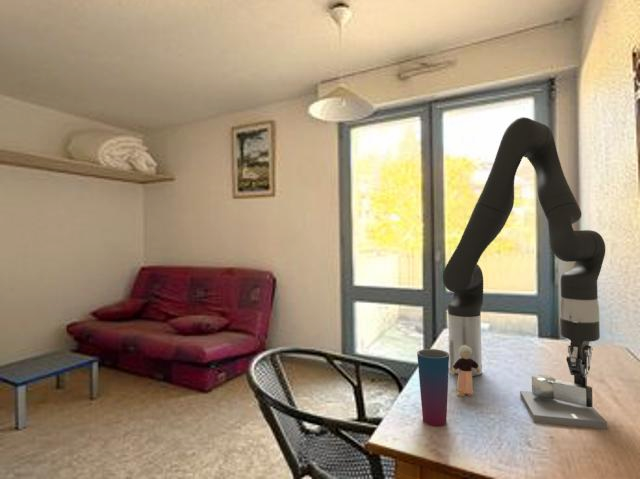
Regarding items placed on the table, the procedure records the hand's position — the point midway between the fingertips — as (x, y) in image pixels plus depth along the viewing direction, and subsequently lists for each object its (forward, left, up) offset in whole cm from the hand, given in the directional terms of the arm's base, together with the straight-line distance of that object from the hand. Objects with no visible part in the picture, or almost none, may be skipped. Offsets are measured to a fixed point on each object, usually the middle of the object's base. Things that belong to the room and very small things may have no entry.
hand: (580, 391), depth 88 cm
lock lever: (-4, -1, -2) cm, 5 cm away
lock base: (-5, -2, -4) cm, 7 cm away
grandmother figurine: (-25, +3, -4) cm, 25 cm away
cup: (-33, -14, -4) cm, 36 cm away
